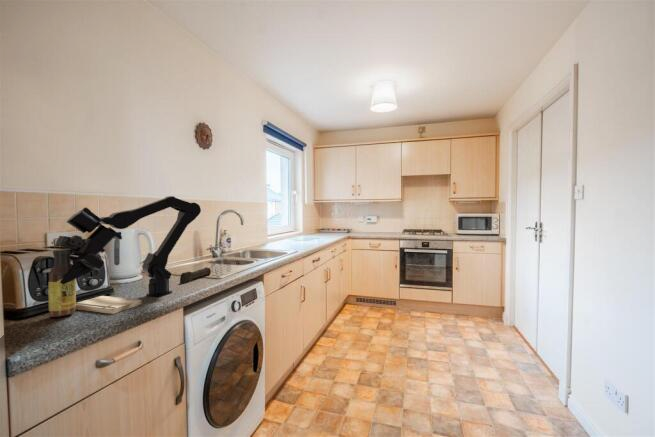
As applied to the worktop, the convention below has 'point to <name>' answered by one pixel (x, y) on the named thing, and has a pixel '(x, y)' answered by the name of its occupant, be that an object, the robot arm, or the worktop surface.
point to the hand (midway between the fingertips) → (56, 282)
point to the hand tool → (194, 275)
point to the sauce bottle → (61, 285)
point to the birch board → (107, 304)
